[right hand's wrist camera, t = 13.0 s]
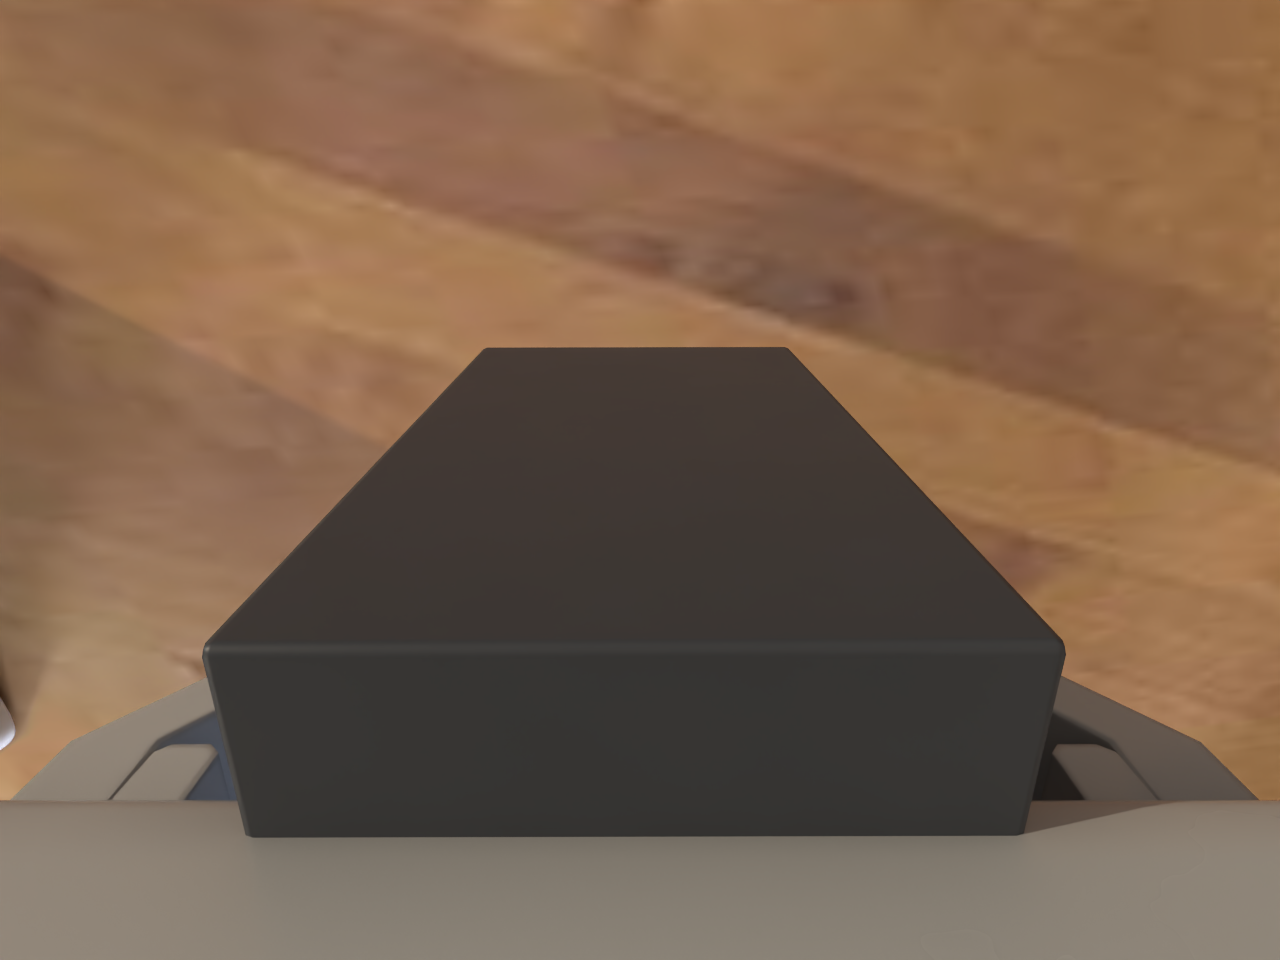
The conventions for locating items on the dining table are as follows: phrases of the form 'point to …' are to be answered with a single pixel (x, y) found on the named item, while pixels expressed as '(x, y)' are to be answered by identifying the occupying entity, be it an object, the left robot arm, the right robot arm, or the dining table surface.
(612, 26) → the dining table surface
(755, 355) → the bar
